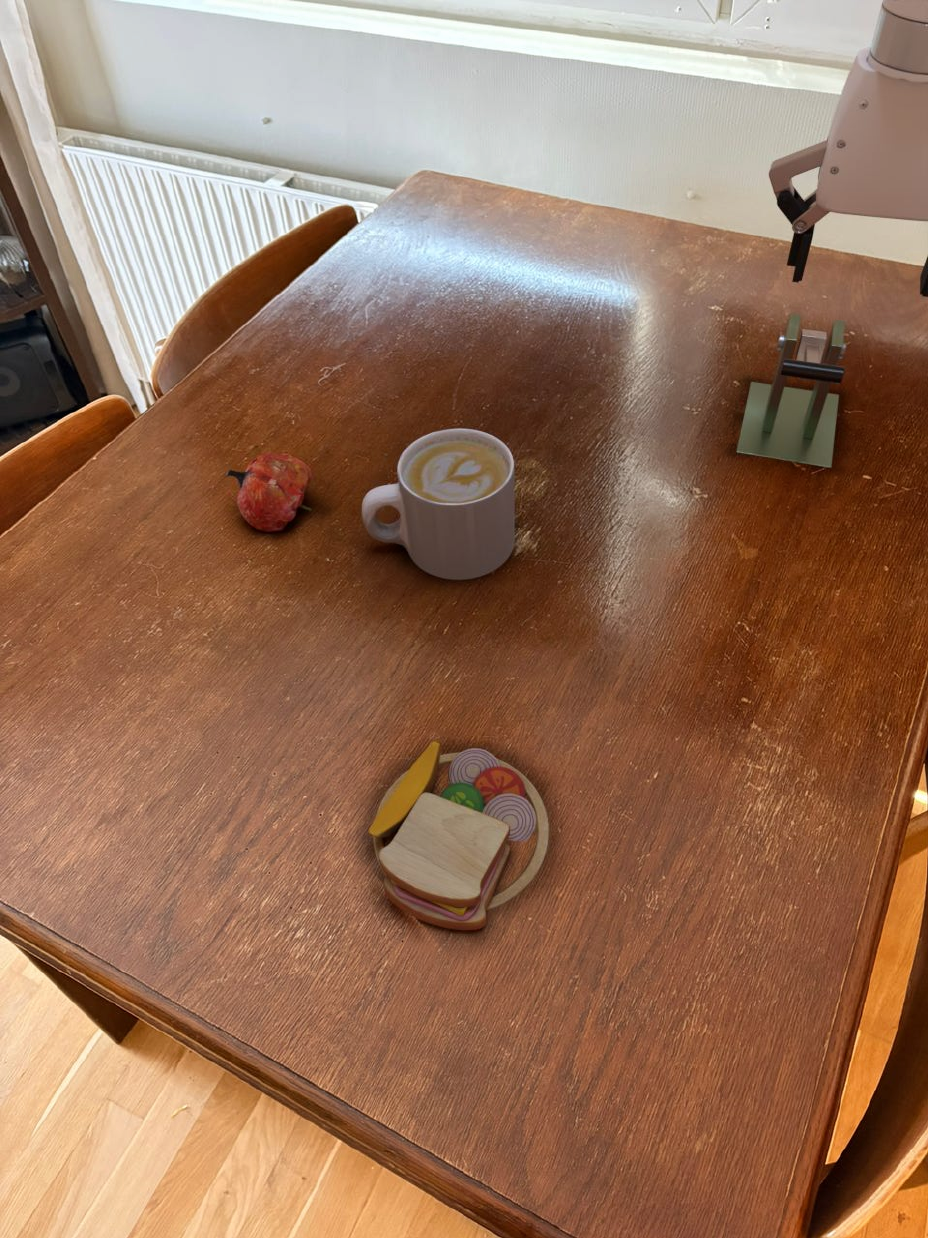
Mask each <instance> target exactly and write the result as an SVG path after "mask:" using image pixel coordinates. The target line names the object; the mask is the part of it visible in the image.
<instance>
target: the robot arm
mask: <svg viewBox="0 0 928 1238" xmlns="http://www.w3.org/2000/svg"><path fill="white" fill-rule="evenodd" d="M837 101H838V102H837V104H836V108H835V111H834V114H833V117H832V121H831V124H830V128H829V131H828V134H827V138H826V140H823V141H820V142H818V143H815V144H813V145H810V146H808V147H806V148H803V149H801V150H797V151H795V152H793V153H791V154H788V155H785V156H782V157H780V158H777V159H775V160H774V161H772V162H771V164H770V167H769V171H768V179H769V181H770V185H771V188H772V191H773V194H774V196H775V199H776V205H777V207H778V209H779V210H780V212H782V215H784V217H785V218H786V219H787V221H788V222H789V223H790V225H791V230H792V231H793V235H792V240H791V243H790V248H789V252H788V256H787V261H786V266H787V267H794V270H793V276H792V280H791V282H792V283H800V282H802V281H803V278H804V275H805V274H804V273H805V270H806V266H807V261H808V258H809V254H810V250H811V246H812V242H813V238H814V232H815V226H816V224H817V223H818V222H820V221H821V220H822V219H823V218H824V217H826V216H827V215H828V214H830V213H833V214H841V215H848V216H849V215H850V216H858V217H859V216H860V217H869V218H870V217H871V218H879V219H880V218H881V219H890V220H891V219H892V220H902V221H914V222H928V0H882V2H881V5H880V10H879V13H878V17H877V21H876V24H875V29H874V33H873V36H872V40H871V44H870V46H868V47H865V48H862V49H860V50H859V51H858V52H857V54H856V56H855V58H854V60H853V62H852V65H851V67H850V69H849V72H848V74H847V77H846V79H845V82H844V85H843V88H842V90H841V93H840V96H839V99H838V100H837ZM817 168H818V174H817V185H816V189H815V190H814V191H813V192H811V193H810V194H809V195H808V196H807V197H805V198H803V197H802V196H801V195H800V193H799V192H798V190H797V189H796V188H795V187H794V184H793V178H794V177H796V176H799V175H802V174H803V173H807V172H809V171H812V170H814V169H817ZM919 279H920V280H919V295H921V297H924V298H928V255H927V257H926V259H925V262H924V265H923V267H922V270H921V273H920V277H919Z"/></svg>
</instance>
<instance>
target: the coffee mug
mask: <svg viewBox="0 0 928 1238" xmlns="http://www.w3.org/2000/svg"><path fill="white" fill-rule="evenodd" d="M396 468H397V469H396V473H397V482H396V483H392V484H391V483H390V484H385V485H380V486H376V487H374V488H373V489H371V490H369V491H368V492H367V493H366V494H365V495H364V497H363V499H362V503H361V518H362V524H363V526H364V529H365V530H366V531H367V533H368V535H369V536H370V537H372V538H373V539H374V540H376V541H378V542H382V543H388V544H397V545H401V546H402V547H403V548H405V549H406V551H407V554H408V556H409V557H410V559H411V560H412V561H413V563H414V564H415V565H416V566H417V567H418V568H419V569H421V570H422V571H423V572H425V573H426V574H429V575H432V576H433V577H436V578H441V579H444V580H452V581H453V580H455V581H461V580H462V581H463V580H471V579H476V578H477V579H478V578H480V577H483V576H485V575H488V574H490V573H492V572H494V571H496V570H497V569H499V568H500V567H502V565H504V563H505V562H507V561H508V559H509V557H510V556H511V554H512V552H513V550H514V547H515V539H516V534H515V533H516V528H515V527H516V524H515V523H516V521H515V519H516V518H515V517H516V515H515V514H516V513H515V509H516V507H515V506H516V505H515V499H516V498H515V495H516V493H515V491H516V490H515V481H516V480H515V478H516V477H515V474H516V473H515V472H516V471H515V459H514V457H513V454H512V452H511V450H510V448H509V447H508V446H507V445H506V444H505V443H504V442H503V441H502V440H500V439H499V438H497V437H495V436H494V435H492V434H489V433H487V432H484V431H481V430H477V429H471V428H461V427H459V428H447V429H441V430H437V431H433V432H430V433H428V434H425V435H423V436H421V437H420V438H418V439H416V440H415V441H413V442H411V444H409V445H408V446H407V447H406V449H405V450H403V452H402V454H401V455H400V457H399V460H398V462H397V467H396ZM384 507H385V508H386V507H393V508H395V509H396V510H397V511H398V512H399V518H397V520H396V521H395V522H392V523H384V522H382V521H380V520H379V518H378V516H377V514H378V512H379V511H380V509H383V508H384Z"/></svg>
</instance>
